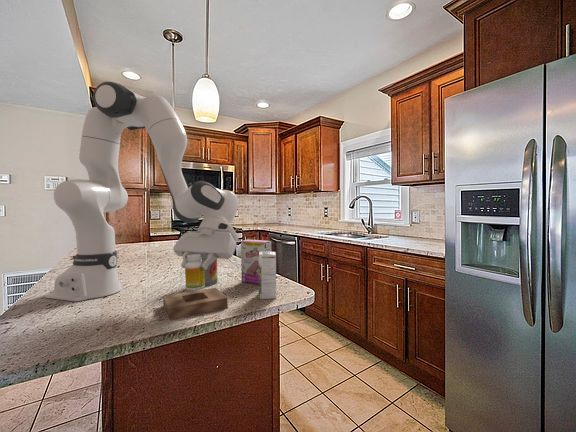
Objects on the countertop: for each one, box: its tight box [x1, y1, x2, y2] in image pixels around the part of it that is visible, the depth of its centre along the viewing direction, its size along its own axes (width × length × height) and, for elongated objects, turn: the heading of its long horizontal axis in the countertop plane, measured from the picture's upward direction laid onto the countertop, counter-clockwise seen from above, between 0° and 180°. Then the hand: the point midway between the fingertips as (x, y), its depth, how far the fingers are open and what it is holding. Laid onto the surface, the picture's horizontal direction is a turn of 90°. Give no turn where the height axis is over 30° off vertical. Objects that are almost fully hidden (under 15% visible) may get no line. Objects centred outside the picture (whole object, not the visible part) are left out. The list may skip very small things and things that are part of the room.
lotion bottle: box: [201, 257, 218, 286], centre depth 109 cm, size 6×6×20 cm
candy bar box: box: [240, 239, 272, 285], centre depth 109 cm, size 11×5×16 cm, turn 66°
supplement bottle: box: [184, 254, 206, 291], centre depth 83 cm, size 5×5×10 cm
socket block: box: [162, 287, 229, 320], centre depth 84 cm, size 16×12×3 cm
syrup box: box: [257, 251, 277, 300], centre depth 93 cm, size 6×6×14 cm
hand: (193, 267), depth 83 cm, fingers closed on supplement bottle, 5 cm apart
